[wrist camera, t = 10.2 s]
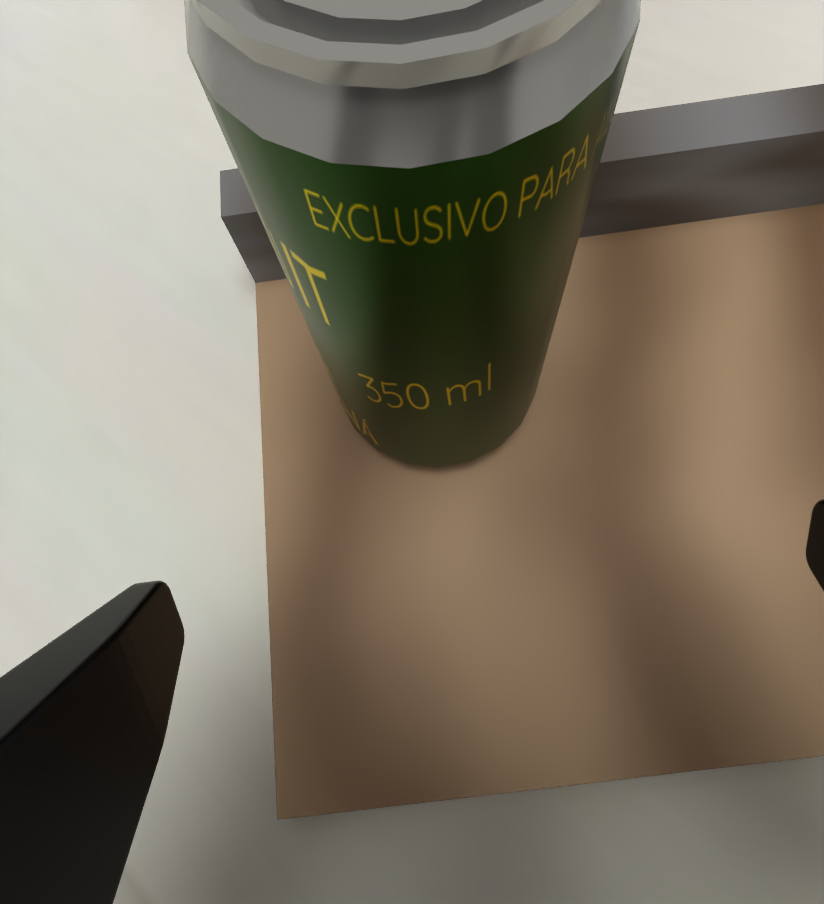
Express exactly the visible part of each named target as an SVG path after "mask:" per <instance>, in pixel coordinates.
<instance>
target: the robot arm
mask: <svg viewBox="0 0 824 904" xmlns="http://www.w3.org/2000/svg"><path fill="white" fill-rule="evenodd" d="M806 559H807V563H808V566H809V568H810V570H811V572H812V573H813V575H814V576H815V578H816V580H817V581H818V583H819V585H820V586H821V588H822V590H823V591H824V499H822V500H820V501H818V502H817V503H816V504H815V505H814V507H813V510H812V515H811V521H810V527H809V533H808V539H807V544H806ZM183 645H184V628H183V624H182V621H181V619H180V616H179V613H178V610H177V608H176V605H175V602H174V599H173V597H172V594H171V591H170V589H169V587H168V586H167V584H166V583H164V582H162V581H152V582H144V583H137V584H134V585H132V586H130V587H129V588H127V589H126V590H125V591H123V592H122V593H120V594H119V595H117V596H116V597H115V598H113V599H112V600H110V601H109V602H107V603H106V604H105V605H103V606H102V607H100V608H99V609H97V610H96V611H95V612H93V613H92V614H90V615H89V616H87V617H86V618H85V619H83V620H82V621H80V622H79V623H77V624H76V625H75V626H73V627H72V628H70V629H69V630H67V631H66V632H65V633H63V634H62V635H60V636H59V637H58V638H56V639H55V640H53V641H52V642H50V643H49V644H48V645H46V646H45V647H43V648H42V649H40V650H39V651H38V652H36V653H35V654H33V655H32V656H30V657H29V658H28V659H26V660H25V661H23V662H22V663H20V664H19V665H18V666H16V667H15V668H13V669H12V670H10V671H9V672H8V673H6V674H5V675H3V676H2V677H0V904H113V901H114V898H115V895H116V892H117V888H118V885H119V882H120V879H121V876H122V873H123V870H124V866H125V863H126V860H127V857H128V854H129V851H130V848H131V844H132V841H133V838H134V835H135V832H136V829H137V826H138V822H139V819H140V816H141V813H142V810H143V807H144V804H145V800H146V797H147V794H148V791H149V788H150V785H151V782H152V778H153V775H154V772H155V769H156V766H157V763H158V760H159V756H160V753H161V749H162V746H163V742H164V738H165V734H166V729H167V725H168V720H169V715H170V710H171V705H172V700H173V695H174V690H175V685H176V680H177V675H178V670H179V665H180V660H181V655H182V650H183Z"/></svg>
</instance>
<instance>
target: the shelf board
mask: <svg viewBox="0 0 824 904" xmlns="http://www.w3.org/2000/svg"><path fill="white" fill-rule="evenodd" d="M220 190H221V218H222V220H223V221H224V223H225V225H226V227H227V229H228V231H229V233H230V235H231V237H232V239H233V241H234V242H235V244H236V246H237V248H238V250H239V252H240V254H241V256H242V258H243V260H244V262H245V264H246V265H247V267H248V269H249V271H250V273H251V275H252V277H253V279H254V281H255V283H256V303H257V328H258V353H259V378H260V403H261V428H262V453H263V478H264V502H265V527H266V552H267V577H268V602H269V627H270V652H271V677H272V702H273V726H274V751H275V776H276V801H277V820H278V819H287V818H296V817H304V816H313V815H321V814H330V813H338V812H347V811H355V810H364V809H372V808H381V807H389V806H398V805H407V804H415V803H424V802H432V801H441V800H449V799H458V798H466V797H475V796H483V795H492V794H500V793H509V792H517V791H526V790H535V789H543V788H552V787H560V786H569V785H577V784H586V783H594V782H603V781H611V780H620V779H628V778H637V777H645V776H654V775H663V774H671V773H680V772H688V771H697V770H705V769H714V768H722V767H731V766H739V765H748V764H756V763H765V762H774V761H782V760H791V759H799V758H808V757H816V756H824V591H823V590H822V588H821V586H820V585H819V583H818V581H817V580H816V578H815V576H814V575H813V573H812V572H811V570H810V568H809V566H808V563H807V559H806V544H807V539H808V533H809V527H810V521H811V515H812V510H813V507H814V505H815V504H816V503H817V502H818V501H820V500H822V499H824V84H820V85H813V86H806V87H799V88H792V89H785V90H778V91H771V92H764V93H757V94H750V95H743V96H736V97H730V98H723V99H716V100H709V101H702V102H695V103H688V104H681V105H674V106H667V107H660V108H653V109H646V110H639V111H633V112H626V113H619V114H613V118H612V121H611V125H610V128H609V132H608V136H607V139H606V143H605V146H604V150H603V153H602V157H601V161H600V164H599V168H598V171H597V175H596V178H595V182H594V186H593V189H592V193H591V196H590V200H589V203H588V207H587V211H586V214H585V218H584V221H583V225H582V228H581V232H580V236H579V239H578V243H577V246H576V250H575V253H574V257H573V261H572V264H571V268H570V271H569V275H568V278H567V282H566V286H565V289H564V293H563V296H562V300H561V303H560V307H559V311H558V314H557V318H556V321H555V325H554V328H553V332H552V336H551V339H550V343H549V346H548V350H547V353H546V357H545V361H544V364H543V368H542V371H541V375H540V378H539V382H538V386H537V389H536V393H535V396H534V399H533V401H532V403H531V405H530V407H529V409H528V411H527V413H526V416H525V418H524V420H523V422H522V424H521V425H520V426H519V427H518V428H517V429H516V430H515V431H514V432H513V433H512V434H511V435H510V436H509V437H508V438H507V439H506V440H505V441H504V442H503V443H502V444H501V446H500V447H498V448H496V449H494V450H492V451H490V452H488V453H486V454H484V455H482V456H480V457H478V458H477V459H475V460H473V461H471V462H465V463H460V464H454V465H448V466H443V467H432V466H424V465H416V464H408V463H404V462H402V461H400V460H398V459H395V458H393V457H391V456H389V455H387V454H385V453H382V452H380V451H378V450H376V449H375V448H374V447H373V446H372V445H371V444H370V443H369V442H368V441H367V440H366V439H365V438H364V437H363V436H361V435H360V434H359V433H358V432H357V431H356V430H355V429H354V427H353V425H352V423H351V421H350V419H349V417H348V415H347V413H346V411H345V410H344V408H343V406H342V404H341V402H340V399H339V397H338V395H337V392H336V390H335V388H334V386H333V383H332V381H331V379H330V376H329V374H328V372H327V370H326V367H325V365H324V363H323V360H322V358H321V356H320V354H319V351H318V349H317V347H316V344H315V342H314V340H313V338H312V335H311V333H310V331H309V329H308V326H307V324H306V322H305V319H304V317H303V315H302V313H301V310H300V308H299V306H298V303H297V301H296V299H295V297H294V294H293V292H292V290H291V287H290V285H289V283H288V281H287V278H286V276H285V274H284V271H283V269H282V267H281V265H280V262H279V260H278V258H277V255H276V253H275V251H274V249H273V246H272V244H271V242H270V239H269V237H268V235H267V233H266V230H265V228H264V226H263V224H262V221H261V219H260V217H259V214H258V212H257V210H256V208H255V205H254V203H253V201H252V198H251V196H250V194H249V192H248V189H247V187H246V185H245V182H244V180H243V178H242V176H241V173H240V171H239V169H231V170H224V171H220Z"/></svg>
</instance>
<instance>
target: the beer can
mask: <svg viewBox="0 0 824 904" xmlns="http://www.w3.org/2000/svg"><path fill="white" fill-rule="evenodd" d="M640 4H641V0H184V5H185V21H186V37H187V52H188V55H189V57H190V59H191V61H192V64H193V66H194V68H195V71H196V73H197V75H198V77H199V80H200V82H201V84H202V87H203V89H204V91H205V93H206V96H207V98H208V100H209V103H210V105H211V107H212V109H213V112H214V114H215V116H216V119H217V121H218V123H219V125H220V128H221V130H222V132H223V135H224V137H225V139H226V141H227V144H228V146H229V148H230V150H231V153H232V155H233V157H234V160H235V162H236V164H237V166H238V169H239V171H240V173H241V176H242V178H243V180H244V182H245V185H246V187H247V189H248V192H249V194H250V196H251V198H252V201H253V203H254V205H255V208H256V210H257V212H258V214H259V217H260V219H261V221H262V224H263V226H264V228H265V230H266V233H267V235H268V237H269V239H270V242H271V244H272V246H273V249H274V251H275V253H276V255H277V258H278V260H279V262H280V265H281V267H282V269H283V271H284V274H285V276H286V278H287V281H288V283H289V285H290V287H291V290H292V292H293V294H294V297H295V299H296V301H297V303H298V306H299V308H300V310H301V313H302V315H303V317H304V319H305V322H306V324H307V326H308V329H309V331H310V333H311V335H312V338H313V340H314V342H315V344H316V347H317V349H318V351H319V354H320V356H321V358H322V360H323V363H324V365H325V367H326V370H327V372H328V374H329V376H330V379H331V381H332V383H333V386H334V388H335V390H336V392H337V395H338V397H339V399H340V402H341V404H342V406H343V408H344V410H345V411H346V413H347V415H348V417H349V419H350V421H351V423H352V425H353V427H354V429H355V430H356V431H357V432H358V433H359V434H360V435H361V436H363V437H364V438H365V439H366V440H367V441H368V442H369V443H370V444H371V445H372V446H373V447H374V448H375V449H376V450H378V451H380V452H382V453H385V454H387V455H389V456H391V457H393V458H395V459H398V460H400V461H402V462H404V463H408V464H416V465H424V466H432V467H443V466H448V465H454V464H460V463H465V462H471V461H473V460H475V459H477V458H478V457H480V456H482V455H484V454H486V453H488V452H490V451H492V450H494V449H496V448H498V447H500V446H501V444H502V443H503V442H504V441H505V440H506V439H507V438H508V437H509V436H510V435H511V434H512V433H513V432H514V431H515V430H516V429H517V428H518V427H519V426H520V425H521V424H522V422H523V420H524V418H525V416H526V413H527V411H528V409H529V407H530V405H531V403H532V401H533V399H534V396H535V393H536V389H537V386H538V382H539V378H540V375H541V371H542V368H543V364H544V361H545V357H546V353H547V350H548V346H549V343H550V339H551V336H552V332H553V328H554V325H555V321H556V318H557V314H558V311H559V307H560V303H561V300H562V296H563V293H564V289H565V286H566V282H567V278H568V275H569V271H570V268H571V264H572V261H573V257H574V253H575V250H576V246H577V243H578V239H579V236H580V232H581V228H582V225H583V221H584V218H585V214H586V211H587V207H588V203H589V200H590V196H591V193H592V189H593V186H594V182H595V178H596V175H597V171H598V168H599V164H600V161H601V157H602V153H603V150H604V146H605V143H606V139H607V136H608V132H609V128H610V125H611V121H612V118H613V114H614V111H615V107H616V103H617V100H618V96H619V93H620V89H621V86H622V82H623V78H624V75H625V71H626V68H627V64H628V61H629V57H630V53H631V50H632V46H633V43H634V39H635V36H636V32H637V28H638V25H639V21H640Z"/></svg>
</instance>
